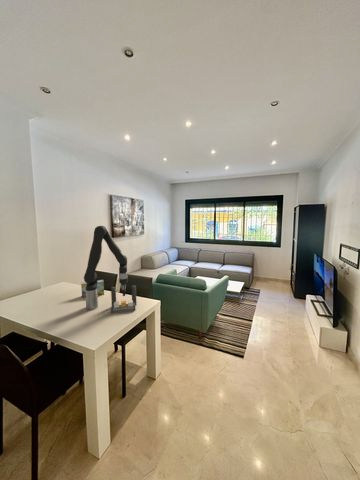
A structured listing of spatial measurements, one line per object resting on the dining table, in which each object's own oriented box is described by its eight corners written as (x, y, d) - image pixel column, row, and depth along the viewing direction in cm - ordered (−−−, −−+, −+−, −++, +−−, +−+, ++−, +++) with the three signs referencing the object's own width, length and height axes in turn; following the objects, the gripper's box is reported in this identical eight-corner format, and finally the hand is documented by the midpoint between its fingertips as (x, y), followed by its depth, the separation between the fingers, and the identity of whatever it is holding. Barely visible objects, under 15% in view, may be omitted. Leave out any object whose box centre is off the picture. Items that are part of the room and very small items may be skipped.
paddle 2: (128, 306, 170) (128, 302, 170) (128, 304, 174) (128, 300, 174) (132, 305, 171) (132, 302, 171) (133, 303, 175) (132, 300, 175)
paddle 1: (113, 307, 168) (113, 303, 167) (114, 305, 172) (114, 302, 171) (118, 307, 169) (118, 303, 168) (119, 305, 172) (118, 301, 172)
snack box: (81, 297, 199) (81, 283, 197) (82, 295, 204) (81, 281, 202) (104, 294, 207) (103, 281, 205) (104, 292, 212) (103, 279, 210)
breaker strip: (111, 313, 166) (111, 308, 166) (112, 309, 173) (112, 304, 172) (135, 310, 171) (135, 305, 170) (135, 307, 177) (135, 302, 177)
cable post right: (132, 305, 180) (131, 287, 178) (132, 304, 184) (131, 285, 182) (136, 305, 181) (135, 286, 179) (136, 303, 185) (135, 285, 183)
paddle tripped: (121, 307, 169) (120, 303, 169) (121, 305, 173) (121, 301, 173) (125, 306, 170) (125, 302, 170) (126, 304, 174) (125, 300, 173)
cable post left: (111, 308, 176) (110, 288, 174) (112, 306, 180) (111, 287, 178) (116, 307, 177) (115, 288, 175) (116, 305, 181) (115, 286, 179)
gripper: (119, 275, 183) (120, 293, 185) (118, 280, 171) (119, 299, 173) (127, 275, 185) (128, 292, 187) (127, 279, 172) (128, 298, 174)
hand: (124, 295), depth 180 cm, fingers closed
